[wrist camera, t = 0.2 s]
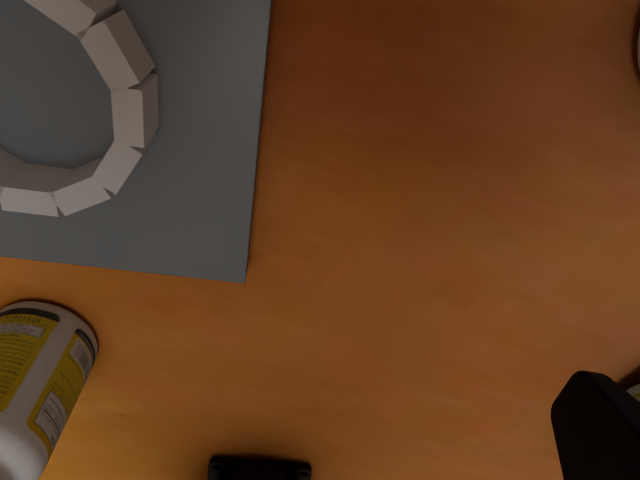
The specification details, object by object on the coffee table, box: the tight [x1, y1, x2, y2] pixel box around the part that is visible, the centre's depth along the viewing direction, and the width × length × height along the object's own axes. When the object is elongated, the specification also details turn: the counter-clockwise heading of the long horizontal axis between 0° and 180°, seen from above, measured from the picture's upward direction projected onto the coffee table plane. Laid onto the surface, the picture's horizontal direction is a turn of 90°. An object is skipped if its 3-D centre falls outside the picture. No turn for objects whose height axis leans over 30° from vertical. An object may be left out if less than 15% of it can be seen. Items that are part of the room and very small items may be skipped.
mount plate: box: [0, 0, 272, 283], centre depth 18 cm, size 16×16×3 cm
